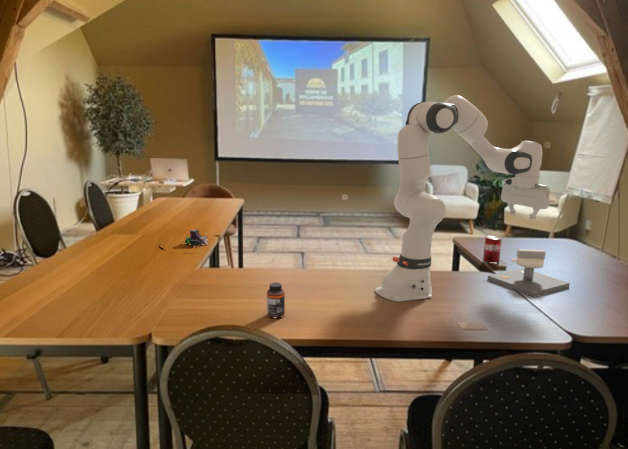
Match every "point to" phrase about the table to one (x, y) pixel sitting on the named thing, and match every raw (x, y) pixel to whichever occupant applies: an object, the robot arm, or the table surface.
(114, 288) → the table surface
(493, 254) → the soda can
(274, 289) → the supplement bottle
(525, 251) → the cap
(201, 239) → the mineral sample
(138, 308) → the table surface
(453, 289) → the table surface
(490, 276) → the lock base
